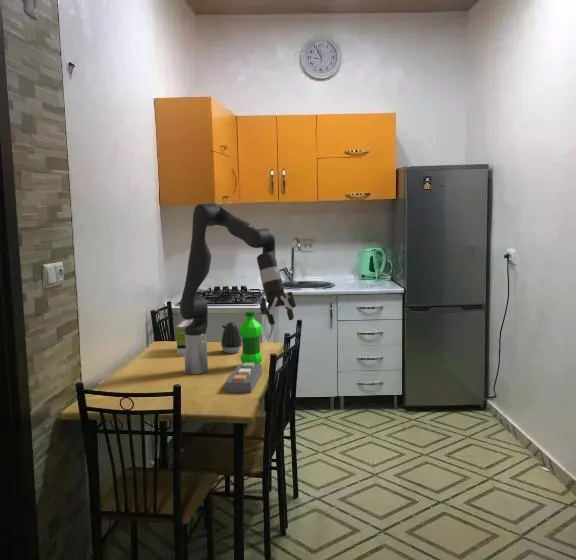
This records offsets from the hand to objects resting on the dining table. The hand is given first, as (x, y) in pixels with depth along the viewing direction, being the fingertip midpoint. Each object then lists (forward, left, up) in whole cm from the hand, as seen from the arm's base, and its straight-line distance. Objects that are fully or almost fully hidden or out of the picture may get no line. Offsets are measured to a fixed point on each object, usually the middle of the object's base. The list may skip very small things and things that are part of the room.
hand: (282, 322), depth 225 cm
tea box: (-55, +65, -29) cm, 91 cm away
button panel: (-18, +17, -29) cm, 38 cm away
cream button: (-18, +17, -27) cm, 37 cm away
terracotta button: (-18, +8, -27) cm, 34 cm away
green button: (-18, +26, -27) cm, 42 cm away
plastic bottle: (-20, +42, -29) cm, 55 cm away
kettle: (-34, +65, -29) cm, 80 cm away
